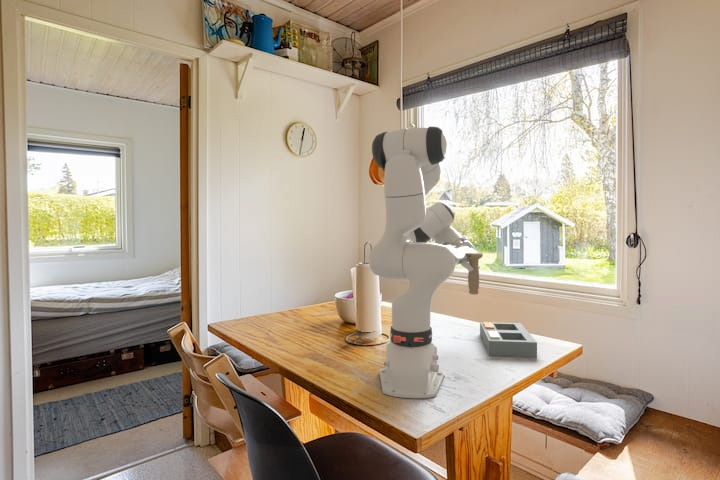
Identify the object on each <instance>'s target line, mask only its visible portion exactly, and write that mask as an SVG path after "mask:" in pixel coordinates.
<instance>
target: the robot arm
mask: <svg viewBox="0 0 720 480" xmlns="http://www.w3.org/2000/svg"><path fill="white" fill-rule="evenodd" d="M448 141H449V140H448V138H447V135H446V133H445V131H444V129H442V128H441V127H439V126H428V127H412V128H407V127H406V128H401V129H396V130H395V129H394V130H392V131H384V132H382V133H379V134H377V135H376V136H375V137H374V139H373V141H372V143H371V153H372V158H373V160H374V163H375V164H376V165H377V166H378V167H379V168H380V169H381V170H382V171H383V173H384V175H383V176H384V177H383V187H384V189H383V190H384V200H385V220H386V221H385V228H384V231H383V234H382V235H381V238H380V240H379V241H378V242H377V243H376V244H375V245H374V246H373V247H372V248H371V250H370V252H369V255H368V265H369V268H370V271H371V272H372V273H373V274H374V275H375V276H379V277H381V278H386V279H392V280H402V281H403V280H404V281H405V280H406V281H408V282H409V285H408V289H407V290H405V291H403V292H401V293H399V294H398V295H397V296H395V297H394V299H393V300H392V302H391V326H390V332H389V335H390V338H389V339H390V342H388V343H387V344H386V347H385V352H386V353H385V354H386V355H385V356H386V361H384V364H383V365H384V368H380V369H379V372H378V375H379V378H380V379H379V380H380V385H381V390H382V393H383V394H384V395H387V396H390V397H394V398H395V397H396V398H404V399H429V398H431V399H432V398H435V397H437V395H438V392H439V391H440V388H441V386H442V384H443V381H444V379H445V372H444V371H442V370H440V368H439V367H440V366H439V363H438V361H439V355H438V347H437V346H436V345H435V344H434V343H433V342H432V341H433V331H432V327H431V312H432V311H431V310H432V301H433V298H434V295H435V293H436V291H437V290H438V288H439V287H440V286H441V285H442V284H443V283H444V282H446V281H447V280H448V279H449V278H451V276H452V275H453V273H454V272H455V270H456V269H455V268H456V266H457V265H461V266H462V267H463V268H465V269H467V270H468V271H469V272H472V271H473V270H474V269H475V268H474V267H473V266H472V265H470V264H469V259H468V258H467V256H466V254H465V253H480V252H479V251H478V249H477V248H476V247H475V246H474V245H473V243H471V241H469V238H468V236H467V235H465V234H463V233H460V232H458V231H457V230H456V229H455V228H454V227H452V226H451V225H452V224H453V223H454V220H455V212H454V209H453V208H452V207H451V206H450V205H449V204H448V203H447V202H443V201H437V202H435V203H434V204H432V205H431V206H427V207H426V196H427V195H428V193H430V191H431V190H433V188H434V187H435V186H436V185H437V184H438V183H439V181H440V180H441V177H442V173H443V167H442V162H443V161H444V160H445V159H446V157H447V155H448V154H447V153H448V150H449V142H448ZM431 239H433V240H434V241H435V242H430V240H431ZM478 266H479V269H481V268H480V267H481V266H480V265H479V264H478Z"/></svg>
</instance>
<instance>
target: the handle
mask: <svg viewBox="0 0 720 480" xmlns="http://www.w3.org/2000/svg"><path fill="white" fill-rule="evenodd" d="M465 254H466V256H467V258H468V259H469V262H468V263H469V264H470V265H472V266H473V267H474V268H475V269H474V270H473V271H472V272H469V271H468V274H467V284H468V294H470V295H475V296H476V295H478V294H479V289H480V288H479V287H480V271H479V270H480V268H479V266H480V265H479V260H480V259H482V258H483V256H484V255H483V254H484V253H480V252H479V253H465ZM478 265H479V266H478Z"/></svg>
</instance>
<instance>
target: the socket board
mask: <svg viewBox="0 0 720 480" xmlns="http://www.w3.org/2000/svg"><path fill="white" fill-rule="evenodd" d="M479 335H480V338H481V340H482V342H483V345H484V348H485V350H486V353H487V355H488V356H490V357H491V356H492V357H509V358H510V357H514V358H536V359H537V358H538V342H537V340H535V338H534V337H533V336H532V334H530V332H529V331H528V330H527V328H525V326H524V325H523V324H522V323H521V322H497V321H496V322H490V321H480V322H479Z"/></svg>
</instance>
